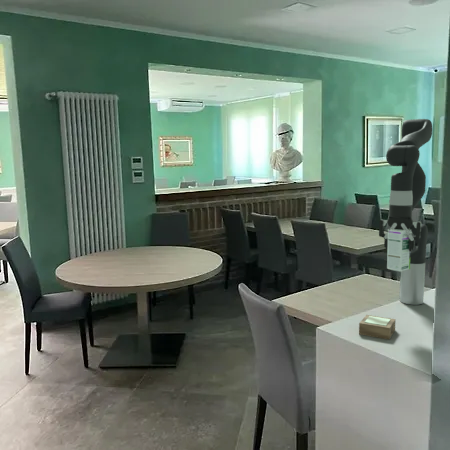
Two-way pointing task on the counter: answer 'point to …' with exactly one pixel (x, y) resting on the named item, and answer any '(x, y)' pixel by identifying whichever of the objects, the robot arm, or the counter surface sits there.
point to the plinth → (377, 326)
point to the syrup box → (398, 250)
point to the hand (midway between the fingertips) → (398, 249)
